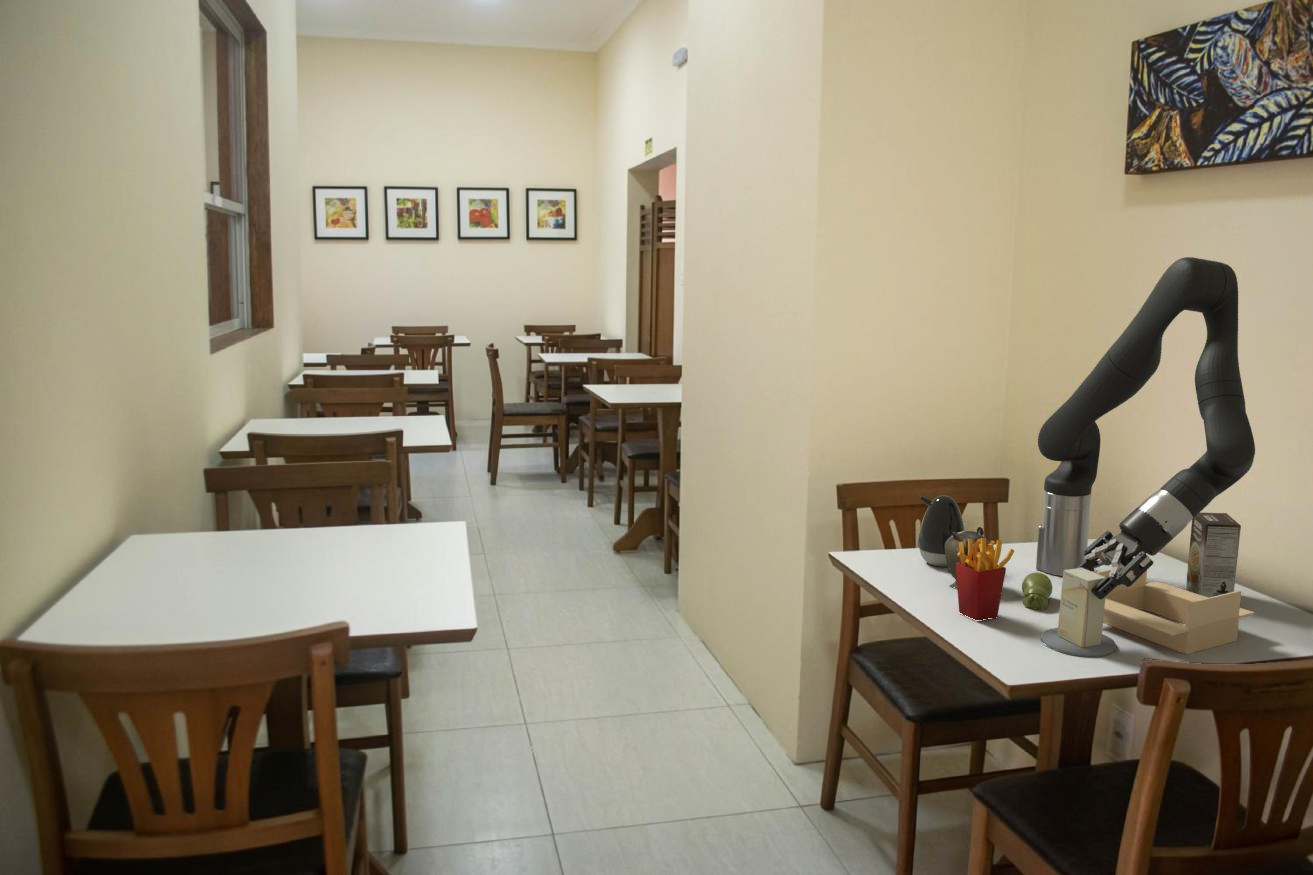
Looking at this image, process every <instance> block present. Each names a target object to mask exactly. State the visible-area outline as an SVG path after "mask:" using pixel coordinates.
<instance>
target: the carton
mask: <svg viewBox="0 0 1313 875" xmlns="http://www.w3.org/2000/svg"><path fill="white" fill-rule="evenodd" d="M1111 569H1112V568H1109V569H1105V570H1099V571H1096V572H1095V573H1097V574H1099V575H1102V576H1104V577H1106V576H1108V577H1110V576H1109V574H1110V571H1111ZM1118 573H1119V572H1118ZM1132 575H1133V572H1132V573H1131V575H1130V576H1127V577H1128V578H1130V577H1131V576H1132ZM1147 575H1148V570H1146V571H1145V572H1144V573H1143V574H1142V575H1141V576H1140V577H1139V578H1138V579H1137V580H1136V581H1135V582H1134V583H1133V584H1132V585H1131V586H1130V587H1126V586H1125V585H1122V586H1117V587H1115V588H1114V589H1113V590H1112V591H1111V592H1110V593H1109V594H1108V595H1107V596H1106V598H1105V607H1104V617H1103V624H1106V625H1109V626H1112V627H1114V628H1116V629H1119V630H1121V631H1124V632H1127V633H1130V634H1131V635H1134V636H1137V637H1140V638H1142V639H1145V640H1148V641H1151V642H1153V643H1156V644H1158V645H1161V646H1163V647H1166V648H1169V649H1171V650H1173V651H1176V652H1179V653H1182V654H1184V655H1190V654H1194V653H1197V652H1199V651H1200V652H1201V651H1204V650H1208V649H1211V648H1215V647H1218V646H1223V645H1226V644H1227V645H1228V644H1229V643H1234V642H1237V641H1238V636H1239V635H1238V634H1239V626H1240V625H1239V622H1240V619H1242V618H1245V617H1250V616H1253V615H1255V611H1251V610H1248V609H1245V608H1241V600H1242V598H1241V597H1242V591H1241V590H1234V592H1230V593H1226V594H1222V595H1218V596H1214V597H1210V598H1208V597H1205V596H1202V595H1199V594H1196V593H1193V592H1189V591H1188V590H1187V589H1182V588H1179V587H1177V586H1173V585H1170V584H1167V583H1163V582H1161V581H1158V580H1157V581H1154V582H1153V581H1152V582H1149V583H1147ZM1142 609H1143V610H1146V611H1149V612H1150V613H1148V612H1146V611H1142ZM1151 613H1154V614H1157V615H1159V616H1160V617H1159V616H1157V615H1154V614H1151ZM1161 616H1162V617H1165V618H1168V619H1171V620H1168V619H1165V618H1162V617H1161ZM1172 620H1174V621H1177V622H1179V623H1182V624H1185V625H1186V626H1185V625H1182V624H1179V623H1177V622H1173V621H1172ZM1233 641H1234V642H1233Z"/></svg>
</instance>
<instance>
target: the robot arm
mask: <svg viewBox="0 0 1313 875" xmlns="http://www.w3.org/2000/svg"><path fill="white" fill-rule="evenodd" d="M1235 272H1236V271H1234V268H1232V267H1231V266H1230V265H1228V264H1226V263H1224V262H1221V261H1217V260H1210V259H1205V258H1199V257H1192V256H1191V257H1189V256H1187V257H1181V258H1179V259H1177V260H1175V261H1174V262H1173V263H1172V264H1170V265H1169V266H1168V268H1167V269H1165V271H1164V273H1163V274H1162V276H1160V278H1159V280H1158V281H1157V283H1156V284H1155V286H1154V287H1153V289H1152V291H1151V293H1150V294H1149V295H1148V297H1147V299H1146V300H1145V301H1144V303H1143V304H1142V306H1141V308H1140V309H1139V311H1138V312H1137V314H1136V315H1135V316H1134V317H1133V318H1132V320H1131V321H1130V323H1129V324H1128V325H1127V326H1126V328H1125V329H1124V331H1123V332H1122V333H1121V334H1120V335H1119V337H1118V338H1117V339H1116V340H1115V342H1114V343H1112V344H1111V346H1110V347H1109V348H1108V350H1107V351H1106V352H1105V354H1104V355H1103V356H1102V357H1101V359H1100V360H1099V361H1098V362H1097V364H1096V365H1095V366H1094V368H1092V370H1091V371H1090V373H1089V374H1088V375H1087V376H1086V377H1085V379H1083V381H1082V382H1081V383H1080V385H1079V386H1078V387H1077V388H1076V390H1074V392H1073V394H1071V396H1070V397H1069V398H1067V400H1066V401H1065V402H1063V404H1062V405H1061V406H1059V408H1058V409H1057V410H1055V412H1053V414H1052V415H1050V417H1048V418H1047V419H1046V420H1045V422H1044V423H1043V424H1042V426H1041V428H1040V429H1039V433H1038V436H1037V447H1038V450H1039V452H1040V454H1041V455H1042V456H1043V457H1044V458H1046V459H1048V460H1050V461H1054V462H1060V464H1059V465H1058V467H1057V468H1056V469H1055V470H1054V471H1052V472H1051V473H1048V474H1047V476H1046V477H1045V479H1044V484H1043V486H1044V487H1043V501H1042V502H1043V504H1042V505H1043V506H1042V517H1041V518H1042V519H1041V521H1042V522H1041V524H1040V525H1039V526H1038V530H1037V531H1038V532H1037V547H1036V562H1035V570H1038V571H1042V572H1043V573H1045V574H1046V573H1047V574H1050V575H1055V576H1061V577H1063V570H1067V569H1075V568H1081V567H1082V568H1084V569H1087V570H1089V571H1092V572H1094V571H1095V569H1098V568H1100V567H1102V566H1111V568H1110V569H1111V571H1110V574H1109V576H1110V577H1108V576H1106V577H1105V578H1104V579H1103V580H1102V581H1100V582H1099V583H1098V584H1097V585H1096V586H1095V587H1094V588H1093V589H1092V593H1093V594H1094V595H1095V596H1096V597H1097V598H1098V599H1100V600H1101V599H1103V598H1104V597H1105V596H1107V595H1108V594H1109V593H1110V592H1111V591H1112V590H1113V589H1114V588H1115V587H1117V586H1122V585H1125V586H1126V587H1130V586H1131V585H1132V584H1133V583H1134V582H1135V581H1136V580H1137V579H1138V578H1139V577H1140V576H1141V575H1142V574H1143V573H1144V572H1145V571H1146V570H1147V571H1148V570H1149V569H1150V568H1152V566H1153V565H1154V561H1153V560H1152V559H1151V557H1150V556H1156V555H1157V554H1158V553H1159V552H1160V551H1161V550H1162V549H1164V548H1165V547H1166V546H1167V545H1169V543H1170V542H1172V540H1174V539H1175V538H1176V537H1177V536H1178V535H1179V534H1181V533H1182V531H1183V530H1185V528H1186V527H1187V526H1188V525H1189V523H1190V522H1192V519H1193V518H1194V517H1195V516H1196V515H1197V514H1198V513H1202V511H1203V510H1204V509H1205V508H1207V506H1208V505H1209V504H1210V503H1211V502H1212V501H1213V500H1214V499H1215V498H1216V497H1218V496H1219V495H1221V494H1223V493H1224V492H1225V491H1226V490H1228V489H1229V488H1230V487H1232V486H1233V485H1234V484H1236V483H1237V482H1238V481H1240V480H1241V479H1242V478H1244V476H1245V475H1246V474H1247V473H1248V472H1249V471H1250V469H1251V468H1252V466H1253V463H1254V460H1255V455H1256V444H1255V439H1254V435H1253V430H1252V427H1251V423H1250V419H1249V417H1248V414H1247V411H1246V410H1247V409H1246V399H1245V395H1244V394H1245V393H1244V388H1243V382H1242V377H1241V370H1240V362H1239V346H1238V345H1239V286H1238V278H1237V275H1236V273H1235ZM1184 311H1190V312H1196V313H1201V314H1202V316H1203V319H1204V322H1205V326H1206V341H1205V343H1204V347H1203V350H1202V351H1201V352H1202V353H1201V354H1200V356H1199V359H1198V361H1197V363H1196V367H1195V372H1194V386H1195V394H1196V400H1197V406H1198V410H1199V415H1200V417H1201V419H1202V420H1203V427H1204V433H1205V442H1206V444H1205V445H1206V451H1205V452H1204V453H1203V455H1201V457H1199V458H1198V459H1197V460H1195V462H1194V463H1193V464H1192V465H1191V466H1189V467H1188V468H1185V469H1182V470H1180V471H1178V472H1177V473H1176V474H1174V475H1173V476H1172V477H1171V478H1170V479H1169V480H1168V481H1167V482H1166V483H1164V484H1163V485H1162V486H1161V487H1160V488H1159V489H1157V491H1155V492H1154V493H1152V494H1151V495H1149V496H1148V497H1146V499H1144V501H1142V502H1141V504H1139V505H1138V506H1136V508H1135V509H1133V510H1132V512H1130V514H1127V516H1126V517H1125V518H1124V519H1123V520H1122V521H1121V522H1119V529H1120V531H1121V532H1120V533H1119V534H1117V535H1115V536H1114V534H1113V533H1112V532H1111V531H1110V530H1106V531H1104V533H1102V534H1101V535H1100V536H1099V537H1098V538H1096V539H1095V540H1094V541H1093V542H1092V543H1091V544H1090V545H1089V544H1088V543H1089V530H1090V519H1091V518H1090V517H1091V516H1090V515H1091V501H1092V500H1091V499H1092V487H1093V485H1094V483H1095V481H1096V480H1097V474H1098V469H1099V468H1098V467H1099V462H1100V453H1101V452H1100V451H1101V442H1102V441H1101V432H1100V431H1101V430H1100V428H1099V426H1098V423H1097V422H1096V421H1098V420H1099V419H1100V418H1102V417H1103V416H1105V415H1106V414H1107V413H1110V412H1111V411H1113V410H1114V409H1117V408H1118V407H1120V405H1123V404H1124V403H1125V402H1127V401H1128V400H1130V399H1131V398H1133V397H1134V396H1135V395H1136V394H1137V393H1138V392H1139V391H1140V390H1141V389H1142V388H1143V387H1144V386H1145V385H1146V384H1147V383H1148V382H1149V380H1150V379H1151V378H1152V377H1153V375H1154V374H1155V373H1156V371H1157V370H1158V368H1159V366H1160V363H1161V359H1162V348H1163V347H1162V346H1163V345H1162V343H1163V336H1164V334H1165V332H1166V331H1167V329H1168V327H1169V326H1170V324H1172V322H1173V321H1174V320H1175V319H1176V318H1177V316H1178V315H1179V314H1181V313H1182V312H1184ZM1094 550H1095V551H1094ZM1118 572H1119V573H1118ZM1132 572H1133V575H1132V576H1131V577H1130V578H1128V577H1127V576H1130V575H1131V573H1132Z"/></svg>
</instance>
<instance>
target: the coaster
mask: <svg viewBox="0 0 1313 875" xmlns="http://www.w3.org/2000/svg"><path fill="white" fill-rule="evenodd" d="M1057 633H1058V627H1053V628H1049V629H1046V630H1045V631H1043V632H1042V633H1041V634H1040V641H1041V640H1042V641H1041V643H1042V642H1043V643H1045V644H1046V645H1047V646H1049V647H1051V648H1053V649H1055V650H1057V651H1056V652H1058V651H1060V652H1059V653H1061V652H1062V654H1065V653H1066V654H1065V655H1069V656H1074V657H1084V658H1099V657H1105V656H1109V655H1112V654H1113V653H1114V652H1116V647H1117V645H1116V642H1115V640H1114V639H1112V638H1111V637H1109V636H1108V635H1105V634H1104V633H1103V634H1102V636H1101V644H1100V645H1095V646H1089V647H1083V648H1082V647H1079V646H1077V645H1075V644H1073V643H1071V642H1069V641H1067V640H1066V639H1064V638H1062V637H1060V636H1058V635H1057ZM1043 643H1042V644H1043ZM1047 646H1046V647H1047ZM1049 647H1048V648H1049ZM1053 649H1052V650H1053ZM1055 650H1054V651H1055Z"/></svg>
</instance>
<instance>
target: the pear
mask: <svg viewBox="0 0 1313 875" xmlns="http://www.w3.org/2000/svg"><path fill="white" fill-rule="evenodd" d="M1021 591H1022V593H1023V600H1022V604H1023V606H1024V608H1026V607H1028V608H1027V609H1032V608H1036V609H1035V610H1039V609H1042V610H1041V611H1044V610H1046V608H1048V606H1049V598H1050V597H1051V595H1052V593H1053V583H1052V581H1051V579H1050V577H1049V576H1048V575H1047V574H1046V573H1045V574H1044V573H1042V572H1032V573H1029V574H1027V575H1026V576H1025V577H1024V579H1023V580H1022V584H1021Z"/></svg>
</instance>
